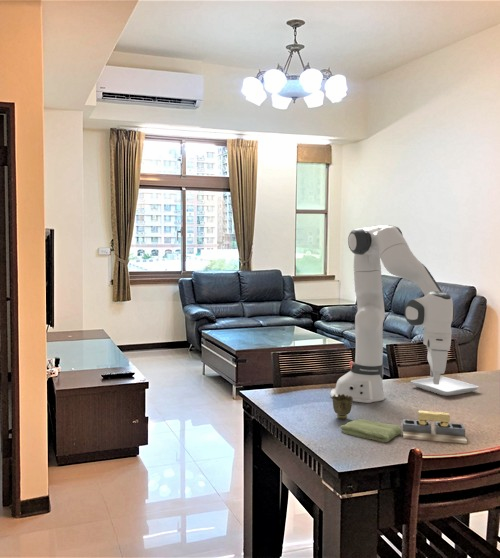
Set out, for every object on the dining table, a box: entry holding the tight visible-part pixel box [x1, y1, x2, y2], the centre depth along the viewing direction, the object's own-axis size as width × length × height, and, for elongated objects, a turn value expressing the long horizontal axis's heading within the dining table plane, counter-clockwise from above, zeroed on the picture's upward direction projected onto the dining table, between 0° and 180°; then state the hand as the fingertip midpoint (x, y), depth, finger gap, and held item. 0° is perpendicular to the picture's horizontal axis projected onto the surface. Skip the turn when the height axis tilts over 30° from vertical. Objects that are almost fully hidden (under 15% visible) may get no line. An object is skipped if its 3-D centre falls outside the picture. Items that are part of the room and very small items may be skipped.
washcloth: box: [339, 418, 402, 443], centre depth 193 cm, size 13×18×3 cm
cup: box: [331, 394, 354, 420], centre depth 207 cm, size 8×7×8 cm
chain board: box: [400, 422, 468, 445], centre depth 192 cm, size 20×13×1 cm, turn 78°
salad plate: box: [410, 375, 480, 397], centre depth 250 cm, size 21×21×3 cm
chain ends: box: [401, 418, 466, 438], centre depth 192 cm, size 20×5×2 cm, turn 78°
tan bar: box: [417, 410, 451, 427], centre depth 192 cm, size 10×3×6 cm, turn 78°
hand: (434, 380), depth 191 cm, fingers open, 8 cm apart
